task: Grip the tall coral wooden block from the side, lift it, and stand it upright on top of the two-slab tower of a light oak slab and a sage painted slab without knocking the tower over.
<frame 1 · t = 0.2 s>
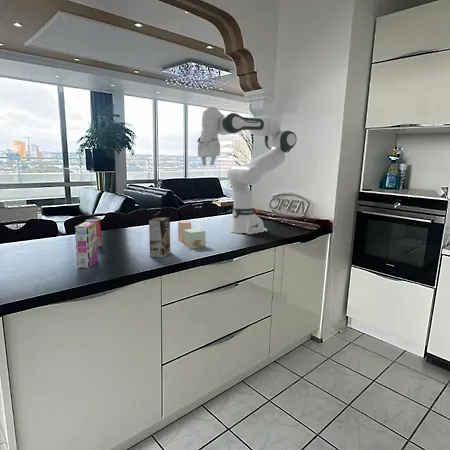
hand: (208, 165, 181), 39 cm above the counter, tool pointing down, fingers open, 8 cm apart
candy bar box: (88, 264, 133), on the counter
sage slab: (194, 238, 164), point 4 cm above the counter, touching oak slab
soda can: (94, 246, 161), on the counter
coral block: (184, 240, 175), on the counter
coffee box: (160, 255, 148), on the counter
oak slab: (194, 246, 164), on the counter, touching sage slab
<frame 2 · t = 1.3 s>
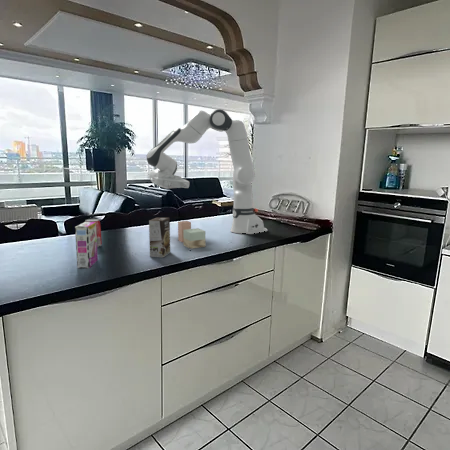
hand: (178, 185, 178), 28 cm above the counter, tool horizontal, fingers open, 8 cm apart
nothing on the counter moved.
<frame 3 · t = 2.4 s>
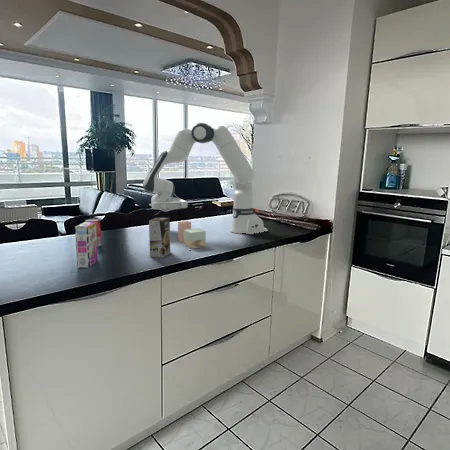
hand: (174, 206, 182), 17 cm above the counter, tool horizontal, fingers open, 8 cm apart
nothing on the counter moved.
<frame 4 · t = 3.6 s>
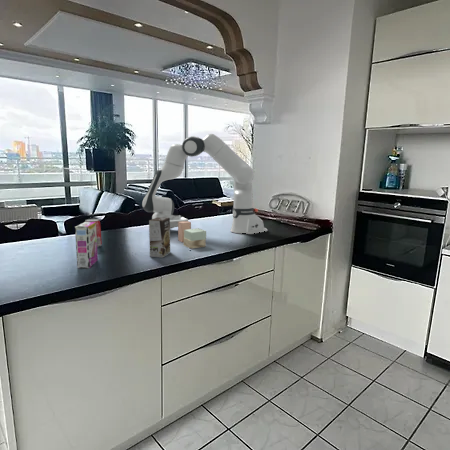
hand: (175, 225, 183), 6 cm above the counter, tool horizontal, fingers open, 8 cm apart
sage slab: (195, 238, 164), point 4 cm above the counter
oak slab: (194, 246, 164), on the counter
everything else where it was.
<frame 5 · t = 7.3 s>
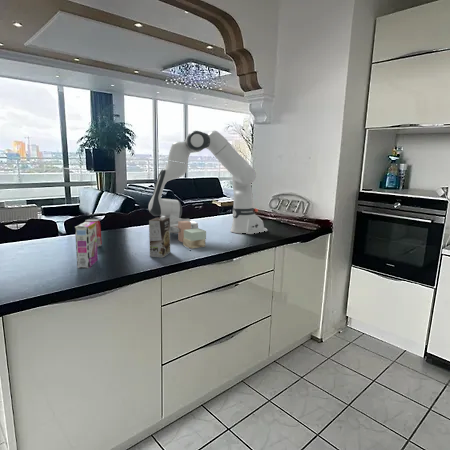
hand: (185, 229, 173), 6 cm above the counter, tool horizontal, fingers closed on coral block, 5 cm apart
coral block: (184, 240, 174), on the counter, touching gripper
everything else where it was.
when the fingers open (15 cm above the counter, at t = 15.6 s): coral block drops 2 cm, resting on sage slab.
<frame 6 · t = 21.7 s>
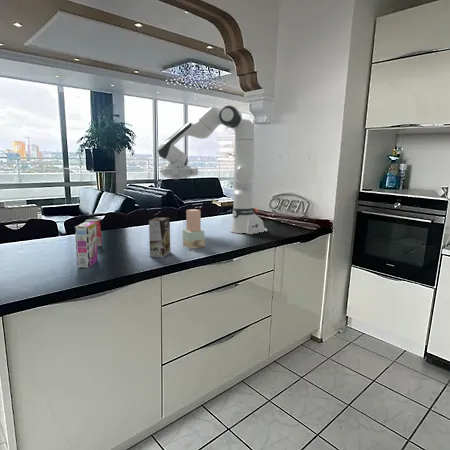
hand: (185, 172, 180), 35 cm above the counter, tool horizontal, fingers open, 8 cm apart
sage slab: (193, 238, 163), point 4 cm above the counter, touching coral block, oak slab
coral block: (193, 230, 163), point 8 cm above the counter, touching sage slab
oak slab: (194, 246, 164), on the counter, touching sage slab
everything else where it was.
at the end: coral block 0.2 cm off-centre on the sage slab, point 4.1 cm above the sage slab's base; coral block tilted 3°; sage slab moved 0.7 cm from its start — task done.
